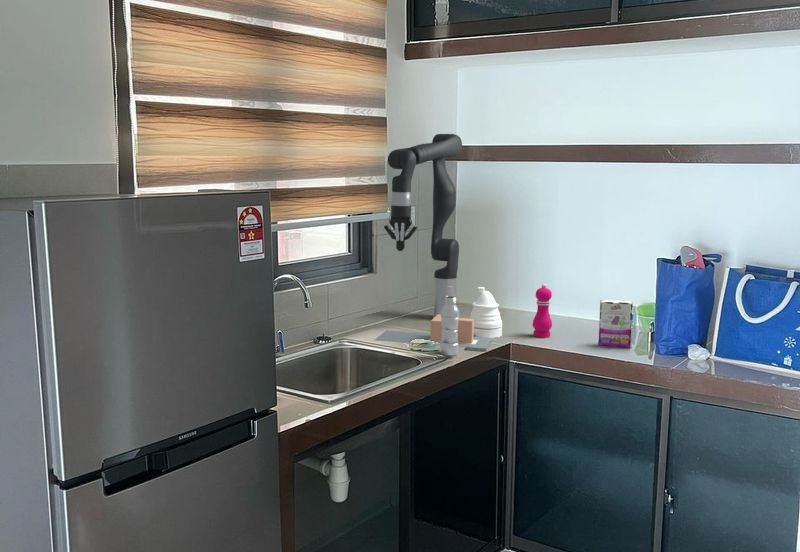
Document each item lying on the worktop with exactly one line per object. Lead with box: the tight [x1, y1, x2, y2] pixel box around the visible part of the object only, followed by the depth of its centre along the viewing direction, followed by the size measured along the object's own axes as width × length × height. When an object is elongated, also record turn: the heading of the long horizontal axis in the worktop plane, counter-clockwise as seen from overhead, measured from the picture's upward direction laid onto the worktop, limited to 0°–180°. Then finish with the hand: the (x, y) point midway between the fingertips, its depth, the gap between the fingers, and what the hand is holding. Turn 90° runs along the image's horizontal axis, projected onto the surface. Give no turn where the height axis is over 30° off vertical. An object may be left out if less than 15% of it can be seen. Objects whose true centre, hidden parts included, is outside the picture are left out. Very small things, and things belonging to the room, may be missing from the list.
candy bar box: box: [598, 299, 633, 349], centre depth 274 cm, size 11×5×16 cm, turn 77°
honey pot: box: [468, 286, 503, 339], centre depth 288 cm, size 13×13×18 cm
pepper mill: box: [532, 283, 553, 339], centre depth 287 cm, size 7×7×20 cm
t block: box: [430, 314, 475, 343], centre depth 273 cm, size 12×14×8 cm
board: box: [374, 329, 493, 352], centre depth 276 cm, size 17×40×1 cm, turn 76°
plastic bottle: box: [439, 296, 461, 358], centre depth 254 cm, size 6×7×20 cm
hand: (400, 250), depth 287 cm, fingers closed
